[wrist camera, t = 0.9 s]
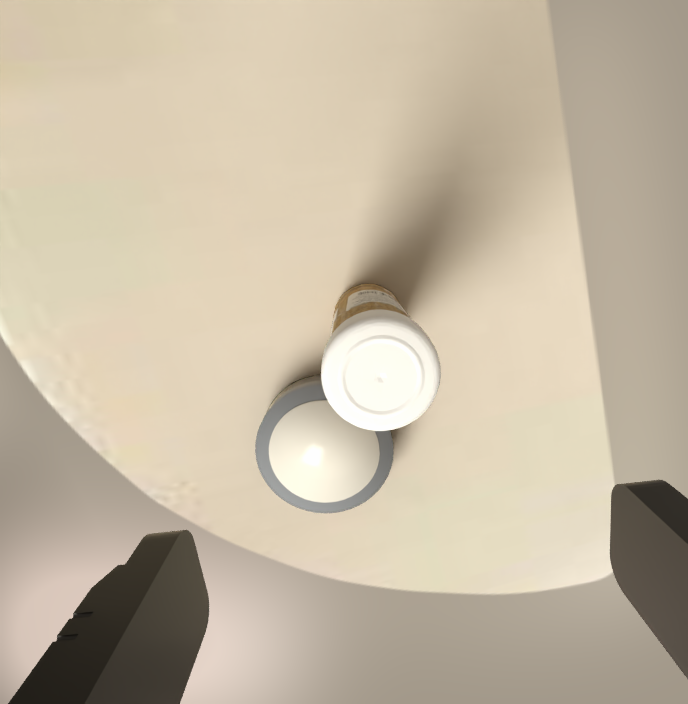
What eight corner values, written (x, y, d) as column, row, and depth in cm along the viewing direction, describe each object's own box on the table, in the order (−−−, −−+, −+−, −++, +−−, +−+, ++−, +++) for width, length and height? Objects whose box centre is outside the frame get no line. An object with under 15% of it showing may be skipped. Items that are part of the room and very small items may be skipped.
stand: (252, 383, 31) (242, 396, 28) (382, 367, 30) (384, 378, 28) (274, 499, 33) (268, 521, 30) (396, 485, 33) (400, 506, 30)
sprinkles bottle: (321, 328, 30) (296, 396, 17) (357, 269, 29) (360, 292, 16) (379, 363, 30) (399, 455, 17) (416, 305, 29) (467, 358, 16)
